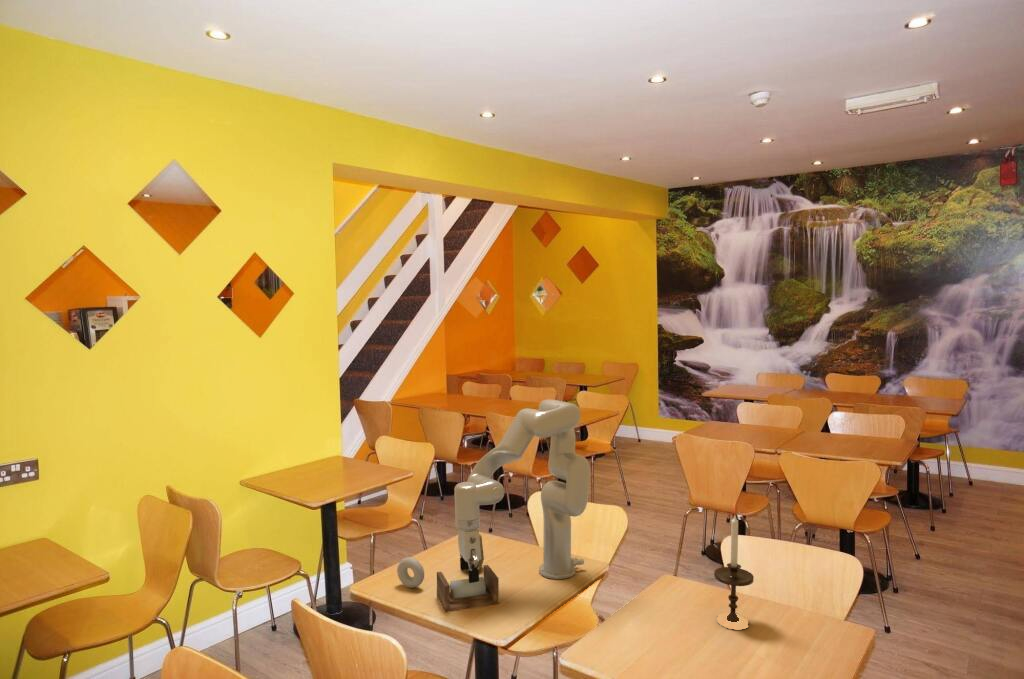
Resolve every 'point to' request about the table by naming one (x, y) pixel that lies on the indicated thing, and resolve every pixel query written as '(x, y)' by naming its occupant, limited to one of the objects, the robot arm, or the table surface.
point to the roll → (467, 588)
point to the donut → (417, 570)
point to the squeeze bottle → (481, 554)
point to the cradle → (468, 602)
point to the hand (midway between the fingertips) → (469, 575)
